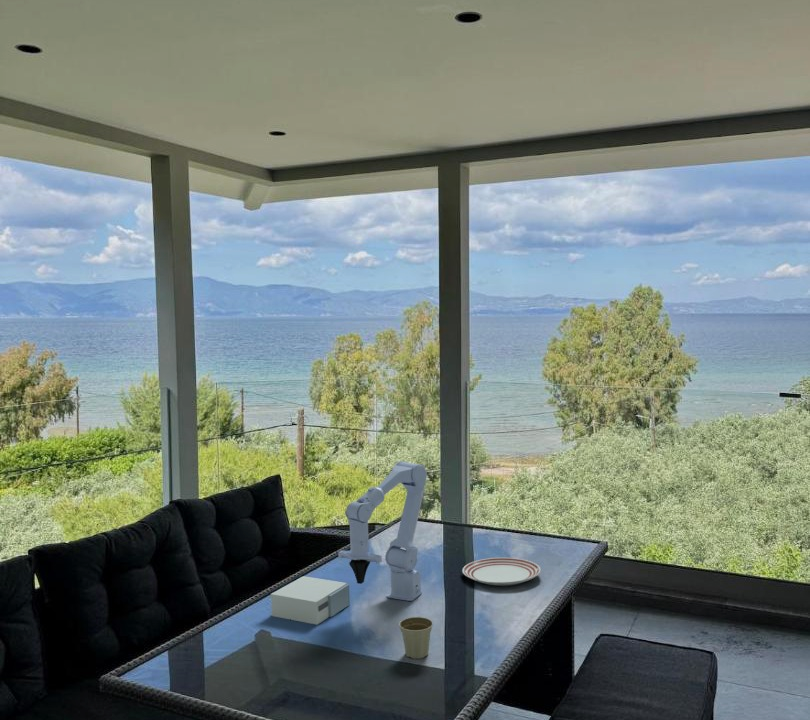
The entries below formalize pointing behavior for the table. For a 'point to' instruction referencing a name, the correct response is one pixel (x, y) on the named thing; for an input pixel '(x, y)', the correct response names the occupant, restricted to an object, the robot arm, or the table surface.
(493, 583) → the dinner plate
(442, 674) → the table surface
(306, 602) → the player box
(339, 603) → the sliding drawer
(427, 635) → the flower pot
